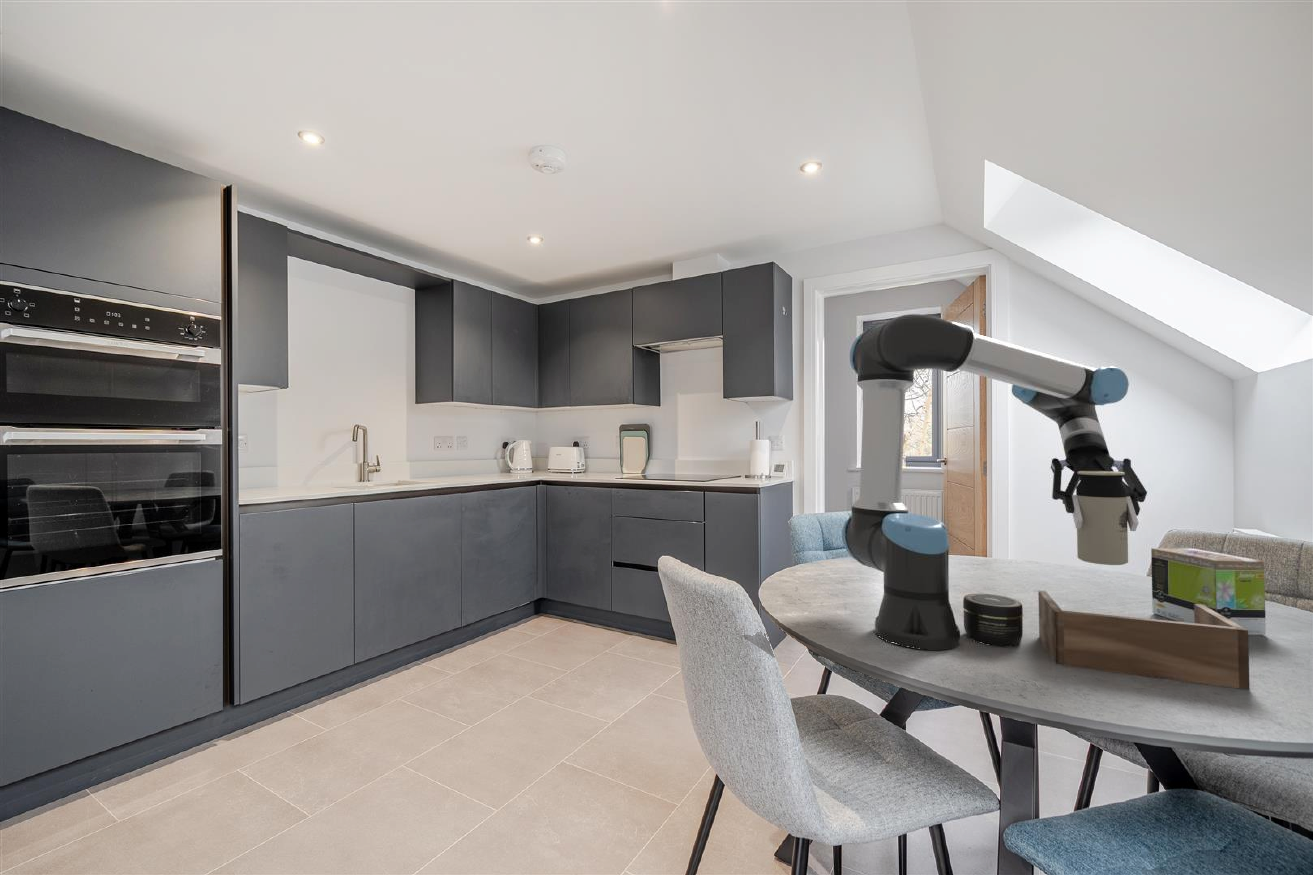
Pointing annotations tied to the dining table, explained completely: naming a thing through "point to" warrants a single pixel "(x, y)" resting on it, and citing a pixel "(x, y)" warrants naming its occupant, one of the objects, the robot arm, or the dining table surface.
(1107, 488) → the travel mug
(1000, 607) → the jar
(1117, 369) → the robot arm
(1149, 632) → the walnut crate
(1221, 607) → the tea box
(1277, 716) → the dining table surface
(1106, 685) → the dining table surface
